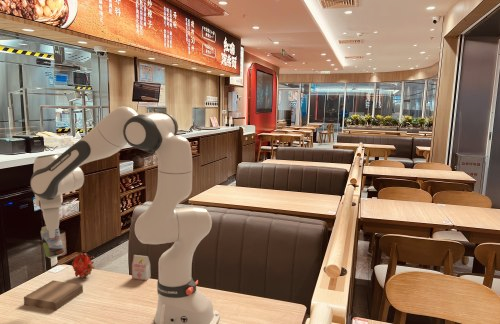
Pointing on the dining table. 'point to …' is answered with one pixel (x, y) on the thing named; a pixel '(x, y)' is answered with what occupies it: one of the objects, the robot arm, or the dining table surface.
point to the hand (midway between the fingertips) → (51, 234)
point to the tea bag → (141, 268)
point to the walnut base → (53, 295)
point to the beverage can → (52, 243)
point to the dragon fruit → (82, 264)
